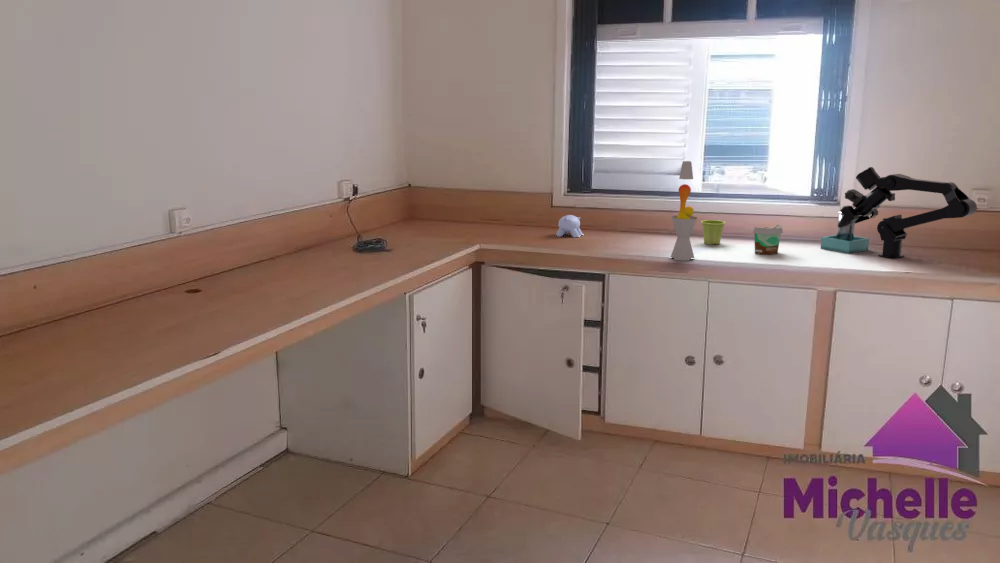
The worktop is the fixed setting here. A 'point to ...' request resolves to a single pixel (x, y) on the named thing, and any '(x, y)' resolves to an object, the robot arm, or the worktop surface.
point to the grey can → (845, 230)
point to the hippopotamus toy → (569, 226)
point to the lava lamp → (684, 218)
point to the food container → (767, 240)
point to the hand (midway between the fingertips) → (843, 225)
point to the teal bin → (844, 244)
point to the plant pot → (712, 231)
